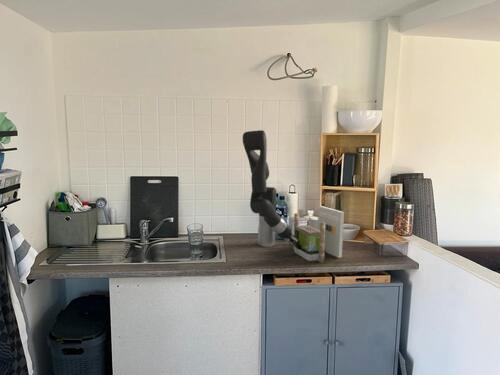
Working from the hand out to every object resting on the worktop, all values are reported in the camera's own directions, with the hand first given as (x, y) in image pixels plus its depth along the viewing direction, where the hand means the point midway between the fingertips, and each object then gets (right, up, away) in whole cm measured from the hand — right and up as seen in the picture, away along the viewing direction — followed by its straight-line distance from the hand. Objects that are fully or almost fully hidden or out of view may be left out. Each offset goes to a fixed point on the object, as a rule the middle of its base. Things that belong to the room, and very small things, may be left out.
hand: (299, 247), depth 193 cm
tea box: (+5, -5, +3) cm, 8 cm away
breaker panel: (+17, -4, +8) cm, 19 cm away
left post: (-1, -3, +13) cm, 13 cm away
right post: (+10, -6, -6) cm, 13 cm away
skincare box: (+12, -2, +23) cm, 26 cm away
